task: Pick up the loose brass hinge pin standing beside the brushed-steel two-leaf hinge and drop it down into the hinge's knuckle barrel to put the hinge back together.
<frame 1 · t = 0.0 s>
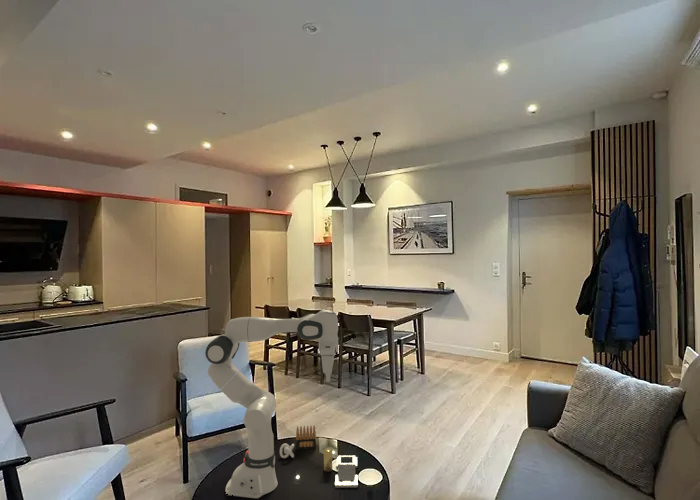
hand: (328, 377, 177), 48 cm above the table, fingers open, 8 cm apart
ammunition clip: (306, 448, 211), on the table
hinge pin: (328, 469, 190), on the table
hinge: (346, 472, 187), on the table
knot: (288, 456, 203), on the table
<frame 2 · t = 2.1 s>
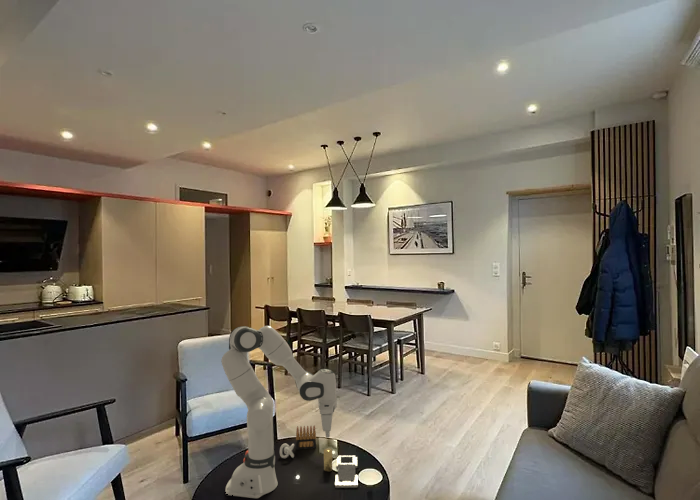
hand: (328, 432, 190), 18 cm above the table, fingers open, 8 cm apart
nothing on the table moved.
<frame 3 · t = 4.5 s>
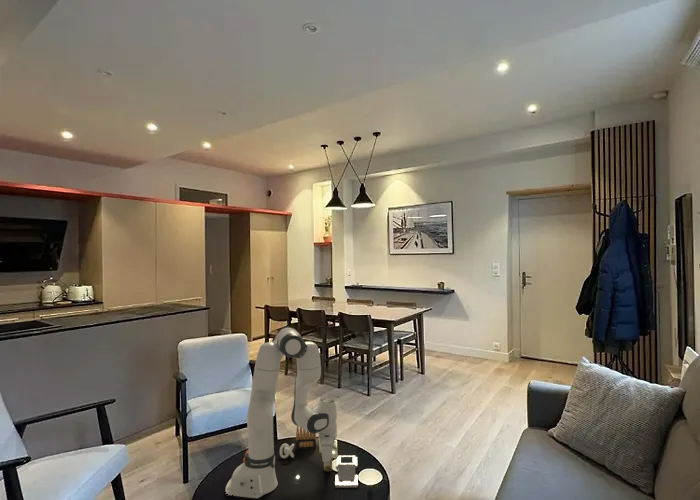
hand: (328, 461, 190), 4 cm above the table, fingers closed on hinge pin, 4 cm apart
hinge pin: (328, 469, 190), on the table, touching gripper
everything else where it was.
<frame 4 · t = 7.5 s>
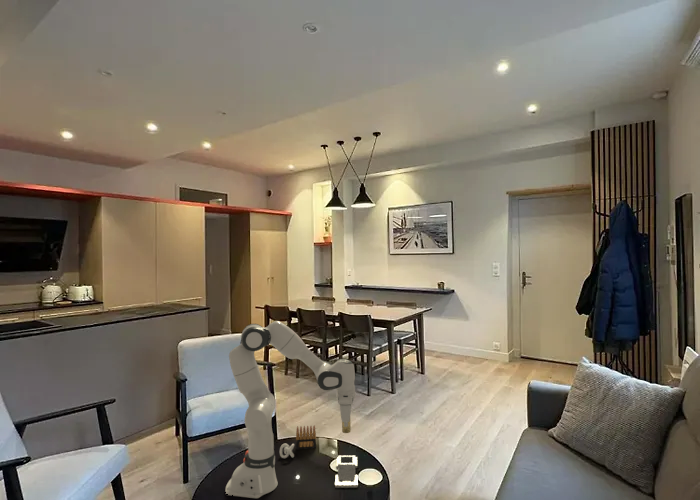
hand: (346, 423, 187), 23 cm above the table, fingers closed on hinge pin, 4 cm apart
hinge pin: (346, 431, 187), point 19 cm above the table, touching gripper
everything else where it was.
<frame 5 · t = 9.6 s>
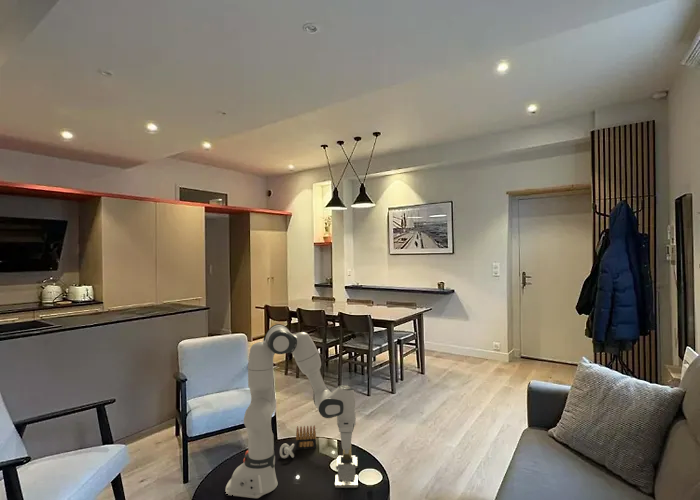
hand: (346, 450, 187), 11 cm above the table, fingers closed on hinge pin, 4 cm apart
hinge pin: (347, 457, 187), point 7 cm above the table, touching gripper
everything else where it was.
when the fingers open (8 cm above the table, at t = 11.0 s): hinge pin drops 4 cm, resting in hinge.
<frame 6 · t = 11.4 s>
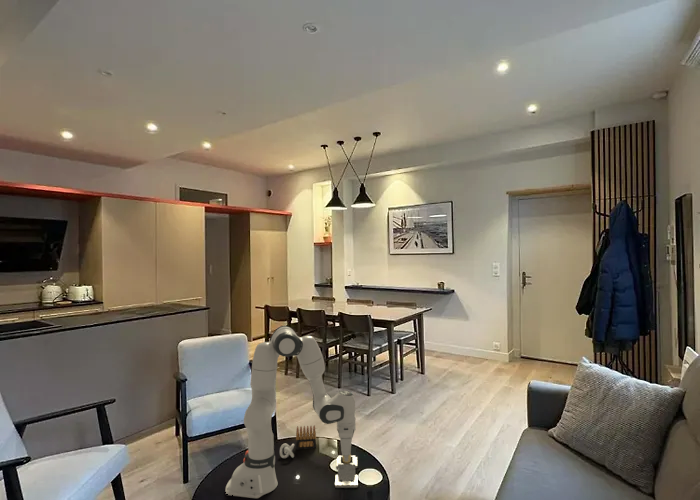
hand: (346, 455, 187), 8 cm above the table, fingers open, 8 cm apart
hinge pin: (346, 472, 187), resting in hinge
everything else where it was.
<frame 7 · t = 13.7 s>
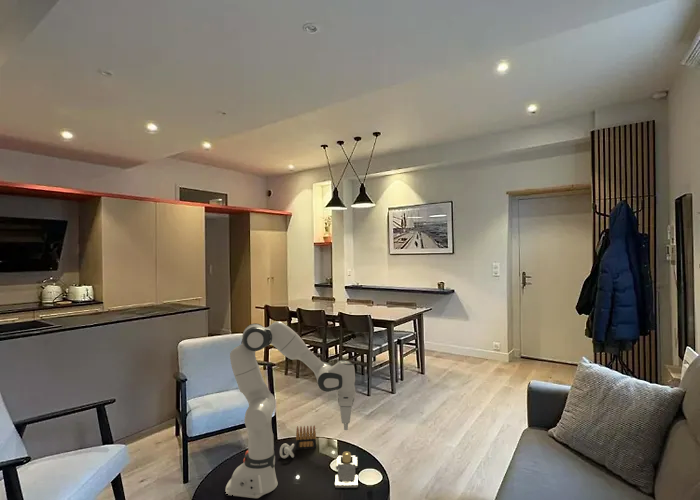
hand: (346, 425, 187), 22 cm above the table, fingers open, 8 cm apart
nothing on the table moved.
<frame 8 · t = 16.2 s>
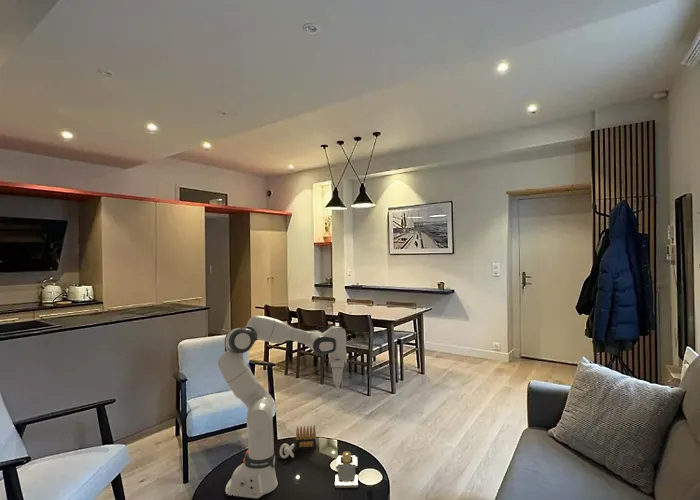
hand: (338, 386, 197), 37 cm above the table, fingers open, 8 cm apart
nothing on the table moved.
at the end: hinge pin 0.1 cm off-centre on the hinge, point 0.0 cm above the hinge's base; hinge pin tilted 0°; the gripper is holding nothing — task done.
